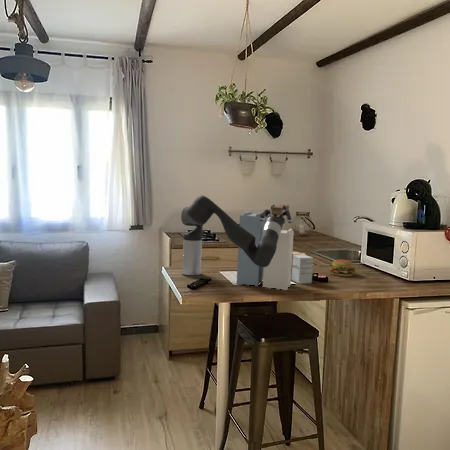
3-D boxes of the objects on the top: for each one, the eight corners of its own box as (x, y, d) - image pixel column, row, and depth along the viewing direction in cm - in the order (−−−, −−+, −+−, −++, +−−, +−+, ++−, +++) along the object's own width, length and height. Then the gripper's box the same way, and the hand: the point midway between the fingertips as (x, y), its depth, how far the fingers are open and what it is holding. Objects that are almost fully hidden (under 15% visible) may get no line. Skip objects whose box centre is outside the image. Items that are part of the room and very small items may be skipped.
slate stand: (257, 286, 218) (261, 214, 214) (236, 284, 221) (239, 213, 217) (263, 280, 230) (267, 212, 227) (243, 278, 233) (246, 211, 229)
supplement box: (291, 280, 234) (292, 254, 232) (304, 279, 236) (306, 254, 235) (298, 283, 227) (300, 257, 225) (312, 283, 229) (313, 257, 228)
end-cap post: (286, 290, 213) (290, 231, 210) (262, 287, 216) (265, 229, 213) (290, 284, 224) (293, 228, 221) (267, 282, 227) (270, 227, 224)
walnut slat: (280, 214, 202) (280, 207, 202) (271, 214, 204) (271, 207, 203) (288, 211, 225) (289, 205, 225) (280, 210, 226) (280, 204, 226)
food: (358, 278, 245) (359, 263, 244) (330, 276, 247) (331, 261, 247) (355, 273, 259) (356, 258, 258) (328, 271, 261) (329, 256, 260)
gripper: (255, 235, 201) (263, 212, 214) (289, 238, 197) (295, 214, 210) (254, 220, 197) (263, 198, 210) (289, 223, 193) (295, 200, 206)
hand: (279, 206), depth 210 cm, fingers closed on walnut slat, 4 cm apart
